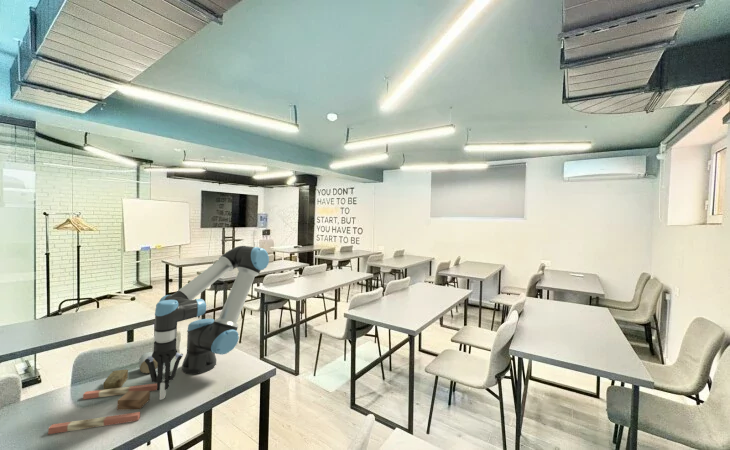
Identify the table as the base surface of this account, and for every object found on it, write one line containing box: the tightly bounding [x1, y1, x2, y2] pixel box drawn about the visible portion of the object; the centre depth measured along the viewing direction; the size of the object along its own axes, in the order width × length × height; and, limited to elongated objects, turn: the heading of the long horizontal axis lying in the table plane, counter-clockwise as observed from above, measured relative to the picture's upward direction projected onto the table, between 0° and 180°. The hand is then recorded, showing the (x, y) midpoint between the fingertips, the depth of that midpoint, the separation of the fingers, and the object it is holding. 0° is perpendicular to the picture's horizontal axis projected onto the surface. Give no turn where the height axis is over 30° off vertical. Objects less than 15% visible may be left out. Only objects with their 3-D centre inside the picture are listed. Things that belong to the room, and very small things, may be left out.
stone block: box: [102, 369, 129, 390], centre depth 126 cm, size 6×12×5 cm, turn 24°
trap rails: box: [47, 382, 157, 435], centre depth 112 cm, size 25×22×2 cm
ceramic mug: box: [138, 351, 165, 374], centre depth 141 cm, size 11×8×8 cm
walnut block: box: [116, 391, 151, 411], centre depth 114 cm, size 8×6×4 cm
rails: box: [67, 385, 132, 432], centre depth 111 cm, size 10×22×2 cm, turn 20°
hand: (162, 397), depth 118 cm, fingers closed
